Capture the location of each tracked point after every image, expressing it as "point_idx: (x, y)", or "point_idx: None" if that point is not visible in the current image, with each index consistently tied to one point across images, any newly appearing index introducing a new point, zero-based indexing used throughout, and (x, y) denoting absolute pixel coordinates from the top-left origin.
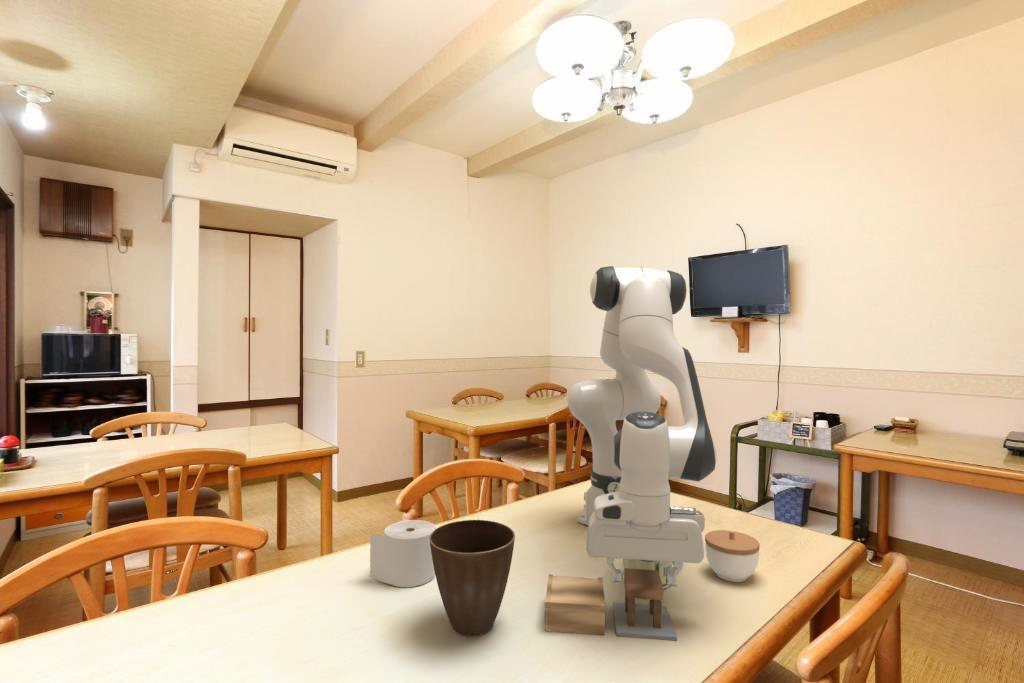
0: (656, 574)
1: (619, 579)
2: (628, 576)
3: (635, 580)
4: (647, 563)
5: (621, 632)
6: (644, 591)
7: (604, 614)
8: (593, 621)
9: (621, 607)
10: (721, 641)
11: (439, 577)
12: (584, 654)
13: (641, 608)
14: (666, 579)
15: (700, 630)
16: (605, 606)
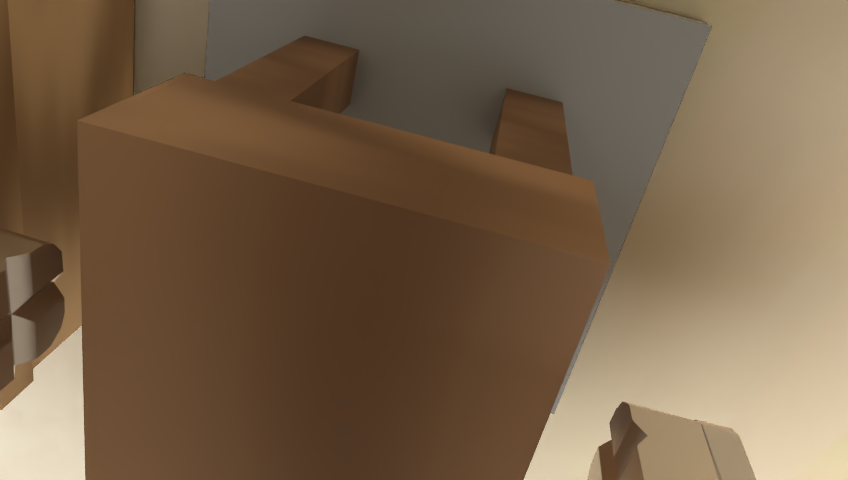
0: (521, 382)
1: (18, 356)
2: (115, 360)
3: (187, 458)
4: None
5: None
6: None
7: (43, 357)
8: None
9: (279, 6)
10: (839, 450)
11: None
12: (24, 405)
13: (450, 43)
14: (618, 460)
15: (786, 333)
16: (3, 406)
